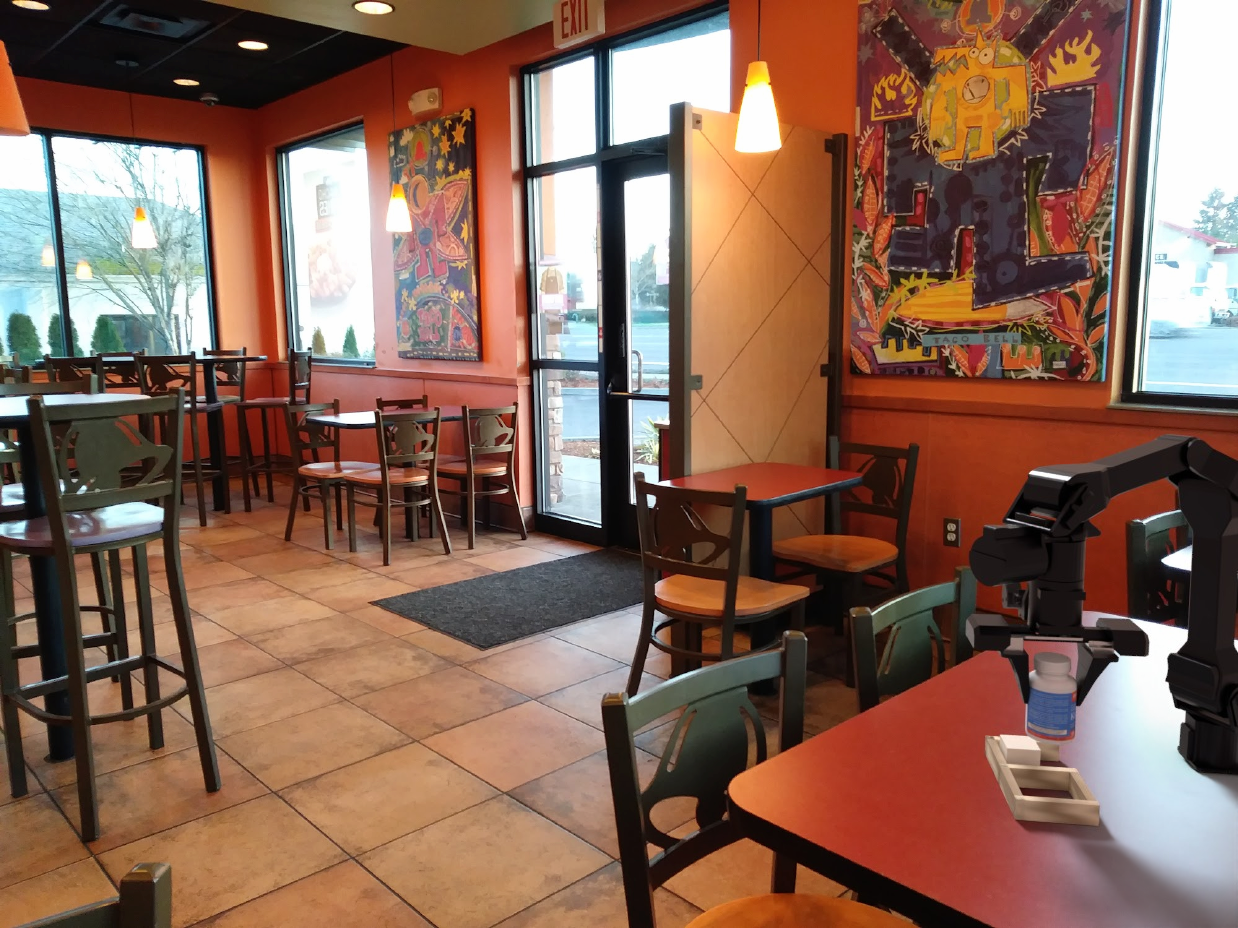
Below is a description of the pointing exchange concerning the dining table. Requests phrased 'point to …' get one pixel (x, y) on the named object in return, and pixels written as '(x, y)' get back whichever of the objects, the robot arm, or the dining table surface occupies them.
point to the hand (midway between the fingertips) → (1050, 703)
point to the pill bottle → (1051, 700)
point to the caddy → (1042, 777)
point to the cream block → (1020, 750)
